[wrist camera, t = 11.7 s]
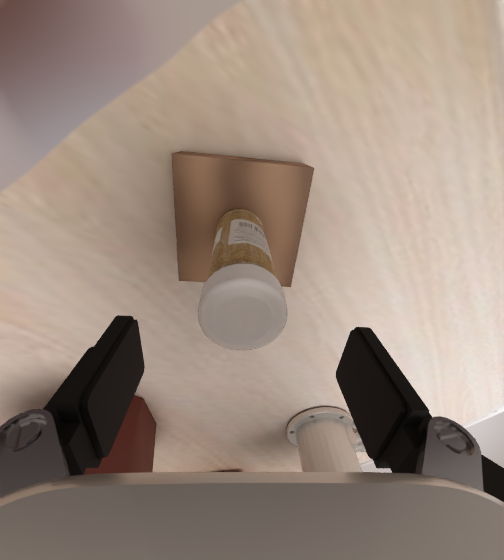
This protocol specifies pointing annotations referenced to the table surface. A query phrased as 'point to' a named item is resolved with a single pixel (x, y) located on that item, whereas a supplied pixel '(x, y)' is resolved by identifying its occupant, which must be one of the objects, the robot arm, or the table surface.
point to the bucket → (131, 443)
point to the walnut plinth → (237, 207)
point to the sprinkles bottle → (241, 286)
